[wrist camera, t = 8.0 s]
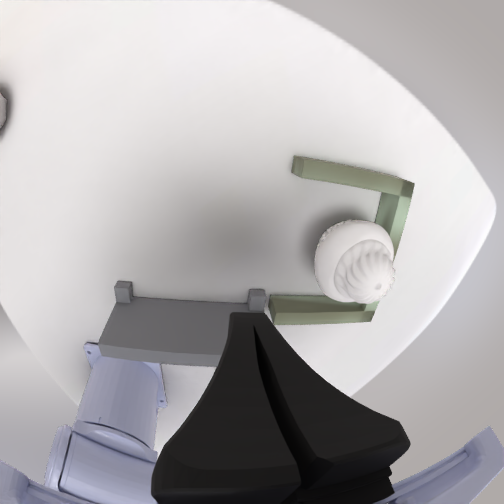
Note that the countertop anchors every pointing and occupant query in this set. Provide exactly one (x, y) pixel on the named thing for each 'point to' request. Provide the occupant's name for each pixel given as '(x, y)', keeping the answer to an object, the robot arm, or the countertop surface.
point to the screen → (170, 328)
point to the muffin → (355, 262)
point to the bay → (388, 217)
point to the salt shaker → (2, 110)
